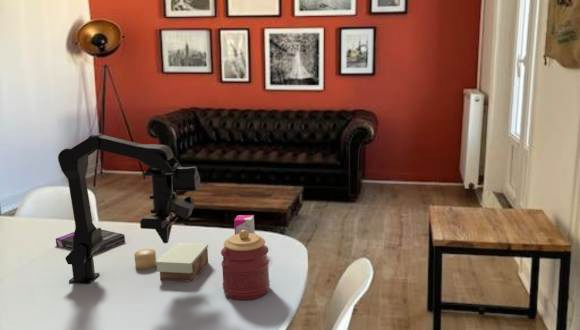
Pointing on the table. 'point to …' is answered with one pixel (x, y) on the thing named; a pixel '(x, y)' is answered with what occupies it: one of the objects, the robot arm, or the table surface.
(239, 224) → the supplement box
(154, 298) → the table surface
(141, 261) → the dome push button
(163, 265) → the lid
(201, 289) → the table surface
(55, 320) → the table surface
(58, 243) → the box
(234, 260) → the canister
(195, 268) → the walnut box
